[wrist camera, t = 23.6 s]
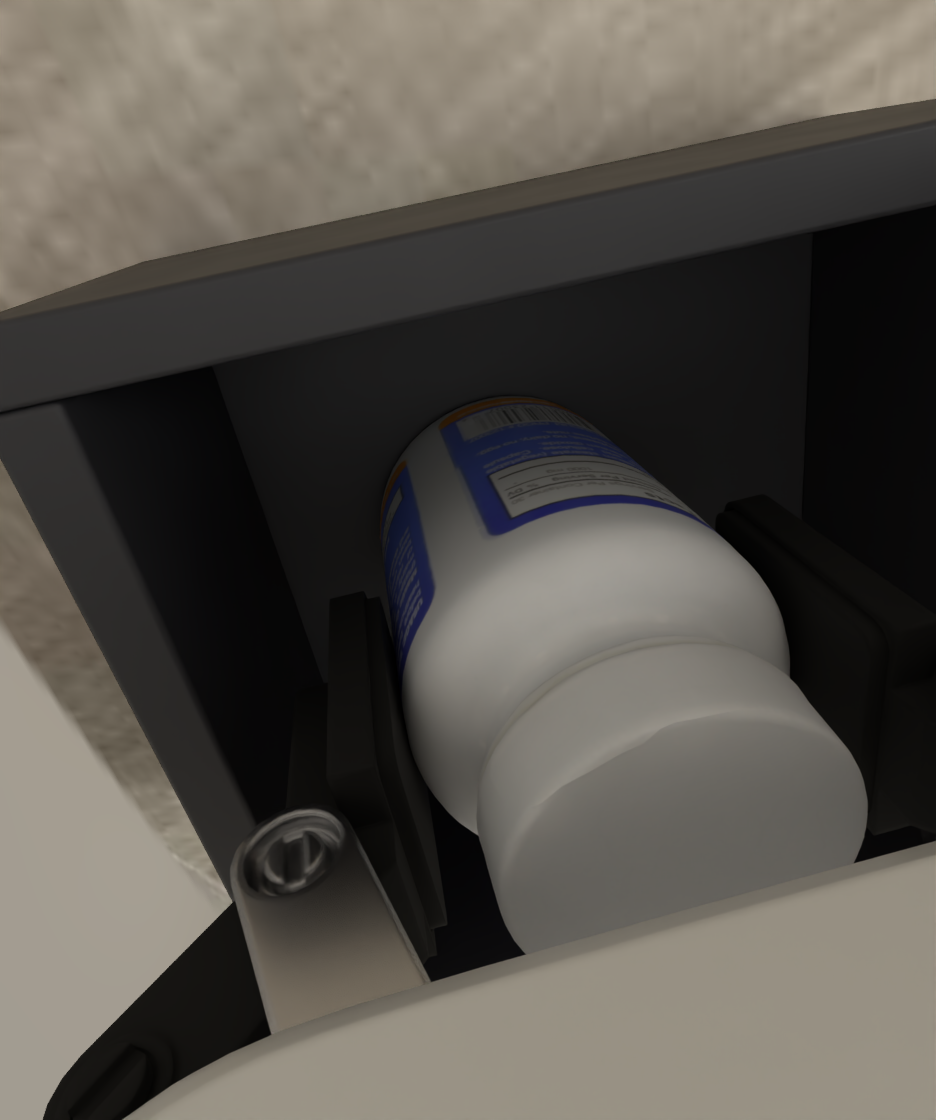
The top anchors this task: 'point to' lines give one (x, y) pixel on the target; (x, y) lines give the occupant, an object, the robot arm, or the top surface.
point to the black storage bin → (452, 382)
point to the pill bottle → (598, 681)
